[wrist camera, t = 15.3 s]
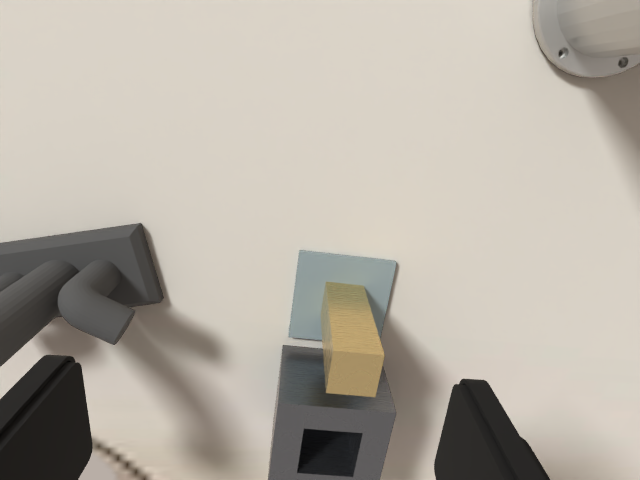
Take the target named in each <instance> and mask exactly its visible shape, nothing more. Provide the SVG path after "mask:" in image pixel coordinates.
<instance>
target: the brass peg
mask: <svg viewBox="0 0 640 480" xmlns="http://www.w3.org/2000/svg"><path fill="white" fill-rule="evenodd" d="M320 316H321V330H322V344H323V358H324V373H325V387H326V393H332V394H343V395H355V396H366V397H376V392H377V388H378V383H379V379H380V374H381V370H382V366H383V361H384V357H385V355H384V351H383V348H382V345H381V341H380V338H379V335H378V331H377V328H376V325H375V321H374V318H373V315H372V312H371V308H370V305H369V302H368V298H367V295H366V292H365V288H364V286H362V285H353V284H344V283H335V282H326V283H325V289H324V296H323V302H322V309H321V315H320Z"/></svg>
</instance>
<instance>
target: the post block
mask: <svg viewBox="0 0 640 480" xmlns="http://www.w3.org/2000/svg"><path fill="white" fill-rule="evenodd" d="M395 416H396V410H395V407H394V403H393V400H392V396H391V392H390V389H389V385H388V382H387V378H386V375H385V371H384V368H383V366H382V370H381V374H380V379H379V383H378V388H377V392H376V397H366V396H355V395H343V394H332V393H326V387H325V373H324V358H323V349H318V348H308V347H297V346H287V345H283V348H282V356H281V364H280V372H279V380H278V388H277V396H276V405H275V413H274V421H273V431H272V441H271V452H270V462H269V473H268V480H380V476H381V472H382V468H383V464H384V460H385V456H386V452H387V448H388V444H389V440H390V436H391V432H392V428H393V424H394V420H395Z"/></svg>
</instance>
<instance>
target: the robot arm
mask: <svg viewBox="0 0 640 480" xmlns="http://www.w3.org/2000/svg"><path fill="white" fill-rule="evenodd" d="M533 25H534V30H535V35H536V38H537V40H538V42H539V45H540V47H541V49H542V51H543V52H544V54H545V55H546V56H547V58H548V59H549V60H550V61H551V62H552V63H553V64H554V65H555V66H556V67H558V68H559V69H561V70H563V71H565V72H567V73H568V74H572V75H575V76H579V77H591V78H595V77H607V76H611V75H615V74H619V73H622V72H624V71H626V70H628V69H630V68H632V67H634V66H636V65H637V64H639V63H640V0H533ZM559 52H560V55H558V54H559ZM91 453H92V438H91V431H90V424H89V417H88V410H87V403H86V396H85V389H84V382H83V375H82V368H81V365H80V363H75V359H74V358H73V357H71V356H59V355H46V356H44V357H42V358H41V359H40V360H39V361H38V362H37V363H36V364H35V365H34V366H33V367H32V368H31V369H30V370H29V371H28V372H27V373H26V374H25V375H24V376H23V377H22V378H21V379H20V380H19V381H18V382H17V383H16V384H15V385H14V386H13V387H12V388H11V389H10V390H9V391H8V392H7V393H6V394H5V395H4V396H3V397H2V398H1V399H0V480H78V478H79V477H80V475H81V473H82V472H83V470H84V468H85V467H86V465H87V463H88V461H89V459H90V456H91ZM434 470H435V476H436V480H550V479H549V477H548V475H547V474H546V472H545V470H544V469H543V467H542V465H541V464H540V462H539V460H538V459H537V457H536V455H535V454H534V452H533V451H532V449H531V447H530V446H529V444H528V443H527V442H526V440H524V439H523V438H521V437H520V436H519V434H518V432H517V431H516V429H515V427H514V426H513V424H512V422H511V421H510V419H509V417H508V416H507V414H506V412H505V411H504V409H503V407H502V405H501V404H500V402H499V400H498V399H497V397H496V395H495V394H494V392H493V390H492V389H491V387H490V385H489V384H488V383H487V381H485V380H474V379H462V380H461V381H460V384H455V385H454V386H453V389H452V393H451V397H450V401H449V405H448V409H447V413H446V417H445V421H444V425H443V430H442V434H441V438H440V442H439V446H438V450H437V454H436V458H435V463H434Z"/></svg>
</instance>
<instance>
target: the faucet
mask: <svg viewBox="0 0 640 480" xmlns="http://www.w3.org/2000/svg"><path fill="white" fill-rule="evenodd" d="M163 298H164V297H163V294H162V291H161V287H160V284H159V281H158V277H157V274H156V271H155V268H154V264H153V261H152V258H151V254H150V251H149V248H148V244H147V241H146V238H145V234H144V231H143V228H142V225H141V223H138V224H131V225H124V226H117V227H110V228H103V229H96V230H89V231H82V232H75V233H68V234H61V235H54V236H47V237H40V238H33V239H25V240H18V241H11V242H4V243H0V366H2V365H3V364H4V363H5V362H6V361H7V360H8V359H10V358H11V357H12V356H13V355H14V354H15V353H16V352H17V351H18V350H19V349H21V348H22V347H23V346H24V345H25V344H26V343H27V342H28V341H29V340H30V339H32V338H33V337H34V336H35V335H36V334H37V333H38V332H39V331H40V330H41V329H43V328H44V327H45V326H46V325H47V324H48V323H49V322H50V321H51V320H52V319H54V318H55V317H61V316H63V318H64V319H65V320H66V321H67V322H68V323H69V324H71V325H72V326H74V327H75V328H77V329H79V330H81V331H84V332H86V333H88V334H90V335H92V336H95V337H97V338H99V339H101V340H104V341H106V342H108V343H110V344H113V345H115V344H116V343H117V342H118V340H119V339H120V338H121V336H122V335H123V333H124V332H125V330H126V328H127V327H128V325H129V323H130V321H131V320H132V318H133V316H134V313H135V310H133V309H131V308H128V307H133V306H140V305H148V304H155V303H160V302H161V301H162V299H163Z"/></svg>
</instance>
